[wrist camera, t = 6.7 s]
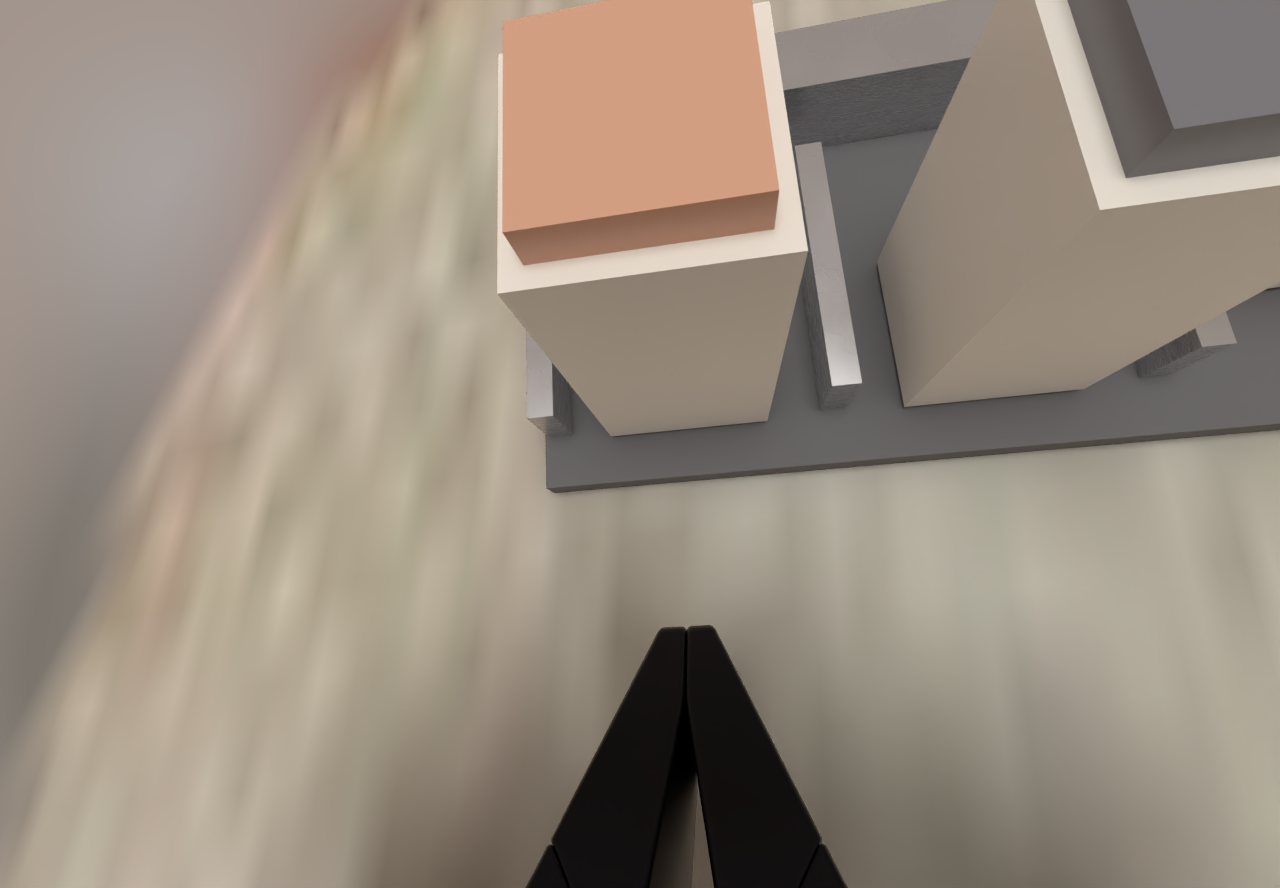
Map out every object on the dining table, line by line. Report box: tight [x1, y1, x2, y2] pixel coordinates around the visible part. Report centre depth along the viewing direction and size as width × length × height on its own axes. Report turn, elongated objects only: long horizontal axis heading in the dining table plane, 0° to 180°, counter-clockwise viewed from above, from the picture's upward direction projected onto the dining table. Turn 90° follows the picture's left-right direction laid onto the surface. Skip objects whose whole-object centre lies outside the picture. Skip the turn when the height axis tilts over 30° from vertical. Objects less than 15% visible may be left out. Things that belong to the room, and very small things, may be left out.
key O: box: [497, 0, 808, 436], centre depth 12 cm, size 4×4×9 cm
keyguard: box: [526, 0, 1237, 438], centre depth 15 cm, size 10×24×2 cm, turn 94°
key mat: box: [546, 129, 1280, 493], centre depth 16 cm, size 12×24×1 cm, turn 94°
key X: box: [877, 0, 1280, 407], centre depth 11 cm, size 4×4×9 cm
